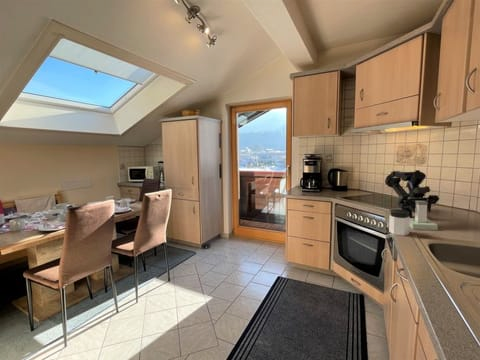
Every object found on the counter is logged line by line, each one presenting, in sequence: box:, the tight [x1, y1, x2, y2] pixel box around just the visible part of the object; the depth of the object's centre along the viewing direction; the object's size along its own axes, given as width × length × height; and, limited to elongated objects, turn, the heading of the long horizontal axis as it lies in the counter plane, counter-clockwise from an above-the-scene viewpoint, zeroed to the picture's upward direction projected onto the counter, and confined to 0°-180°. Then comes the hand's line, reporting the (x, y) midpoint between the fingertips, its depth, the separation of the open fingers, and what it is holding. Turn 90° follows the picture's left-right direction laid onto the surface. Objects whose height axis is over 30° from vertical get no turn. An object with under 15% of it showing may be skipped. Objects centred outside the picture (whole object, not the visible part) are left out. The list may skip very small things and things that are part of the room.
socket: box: [409, 217, 439, 231], centre depth 136 cm, size 11×11×3 cm
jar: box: [388, 208, 410, 237], centre depth 128 cm, size 9×8×12 cm
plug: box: [414, 201, 428, 223], centre depth 136 cm, size 4×4×14 cm
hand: (422, 212), depth 134 cm, fingers open, 7 cm apart
